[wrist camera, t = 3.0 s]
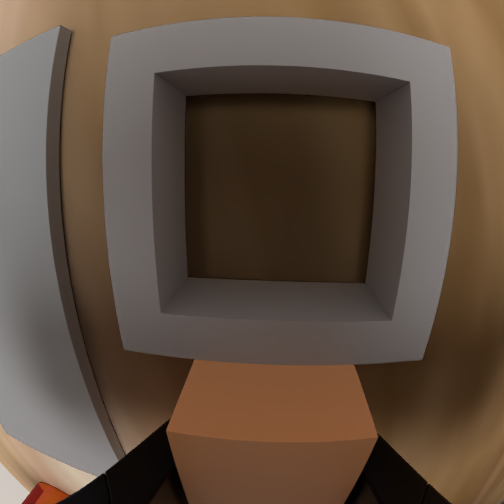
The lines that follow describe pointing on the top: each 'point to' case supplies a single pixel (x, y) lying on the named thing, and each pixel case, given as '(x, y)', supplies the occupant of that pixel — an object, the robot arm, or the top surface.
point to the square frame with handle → (276, 292)
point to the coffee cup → (44, 495)
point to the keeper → (42, 273)
